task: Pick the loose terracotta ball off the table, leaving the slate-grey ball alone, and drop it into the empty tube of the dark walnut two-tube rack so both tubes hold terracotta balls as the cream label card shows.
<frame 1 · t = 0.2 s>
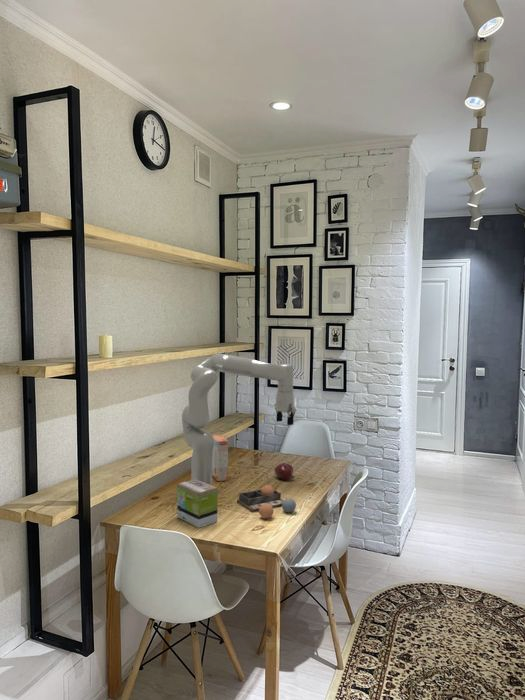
hand: (284, 422, 263), 31 cm above the table, fingers open, 9 cm apart
slate ball: (288, 505, 227), point 3 cm above the table
seated terracotta ball: (267, 491, 240), point 4 cm above the table, touching tube rack
terracotta ball: (266, 510, 220), point 3 cm above the table
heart: (283, 478, 275), on the table
tube rack: (262, 503, 237), on the table
tea box: (197, 520, 217), on the table
cracker box: (218, 477, 274), on the table
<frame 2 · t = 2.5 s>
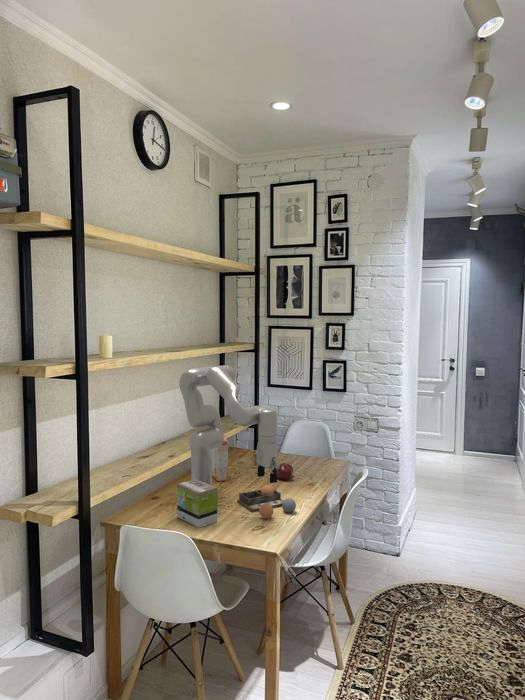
hand: (267, 479, 219), 16 cm above the table, fingers open, 9 cm apart
nothing on the table moved.
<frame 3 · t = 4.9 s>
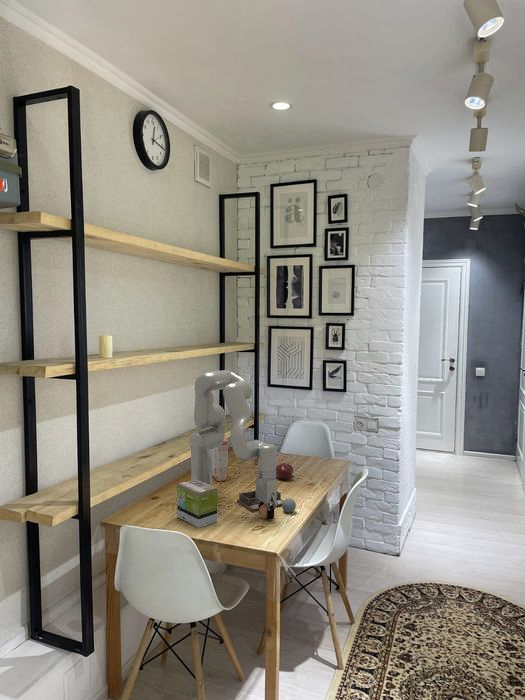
hand: (266, 515, 220), 1 cm above the table, fingers closed on terracotta ball, 5 cm apart
terracotta ball: (266, 511, 220), point 3 cm above the table, touching gripper
everything else where it was.
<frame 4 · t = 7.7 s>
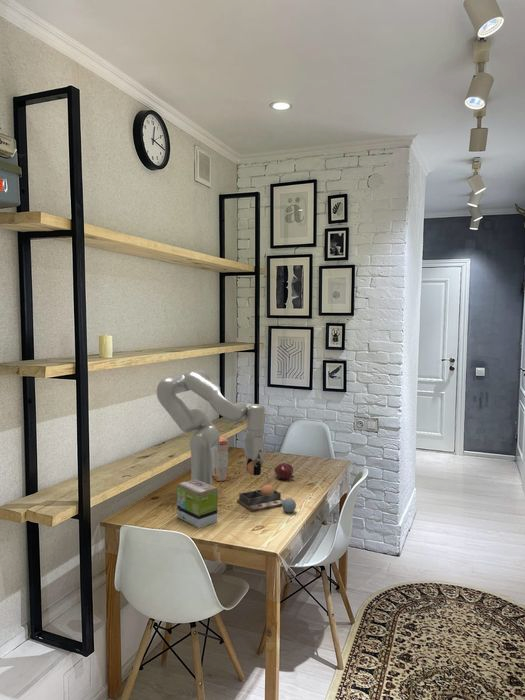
hand: (253, 472, 233), 15 cm above the table, fingers closed on terracotta ball, 5 cm apart
terracotta ball: (253, 467, 233), point 17 cm above the table, touching gripper
everything else where it was.
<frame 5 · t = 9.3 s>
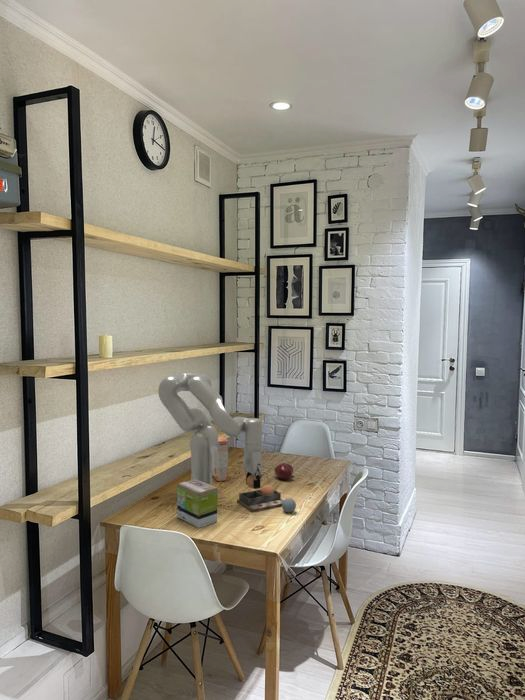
hand: (253, 485, 236), 8 cm above the table, fingers closed on terracotta ball, 5 cm apart
terracotta ball: (253, 481, 236), point 10 cm above the table, touching gripper
everything else where it was.
when the fingers open (7 cm above the table, at t = 10.5 s): terracotta ball drops 4 cm, resting on tube rack.
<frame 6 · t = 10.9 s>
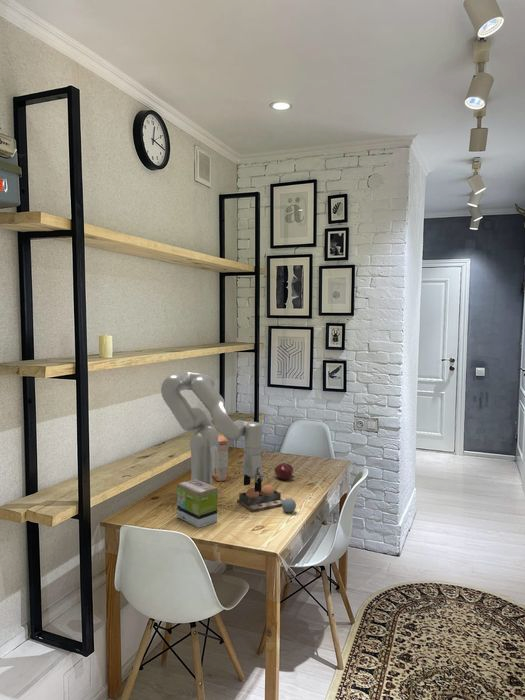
hand: (252, 488, 236), 7 cm above the table, fingers open, 9 cm apart
terracotta ball: (252, 494, 236), point 4 cm above the table, touching tube rack
everything else where it was.
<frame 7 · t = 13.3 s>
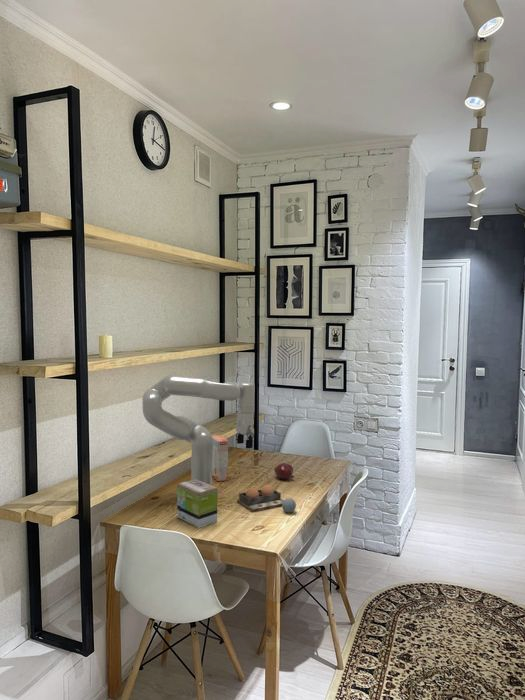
hand: (244, 445, 245), 24 cm above the table, fingers open, 9 cm apart
nothing on the table moved.
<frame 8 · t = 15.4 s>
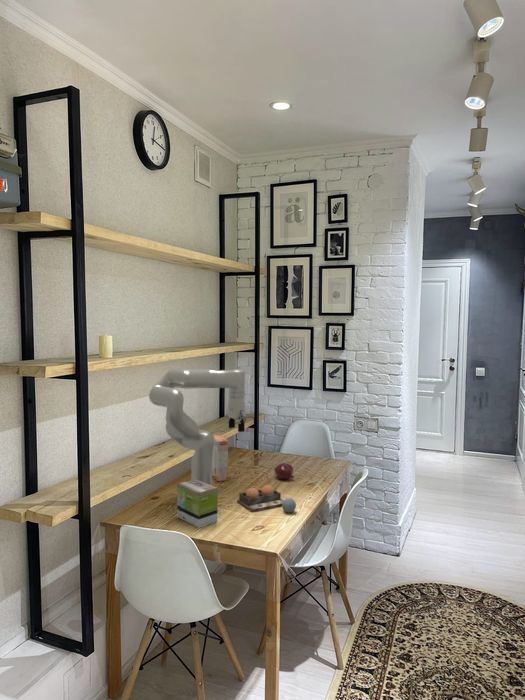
hand: (236, 429, 259), 28 cm above the table, fingers open, 9 cm apart
nothing on the table moved.
at the end: terracotta ball 0.1 cm from the target spot on the tube rack, point 4.2 cm above the tube rack's base; the gripper is holding nothing; seated terracotta ball 0.0 cm from the target spot on the tube rack, point 4.2 cm above the tube rack's base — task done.
